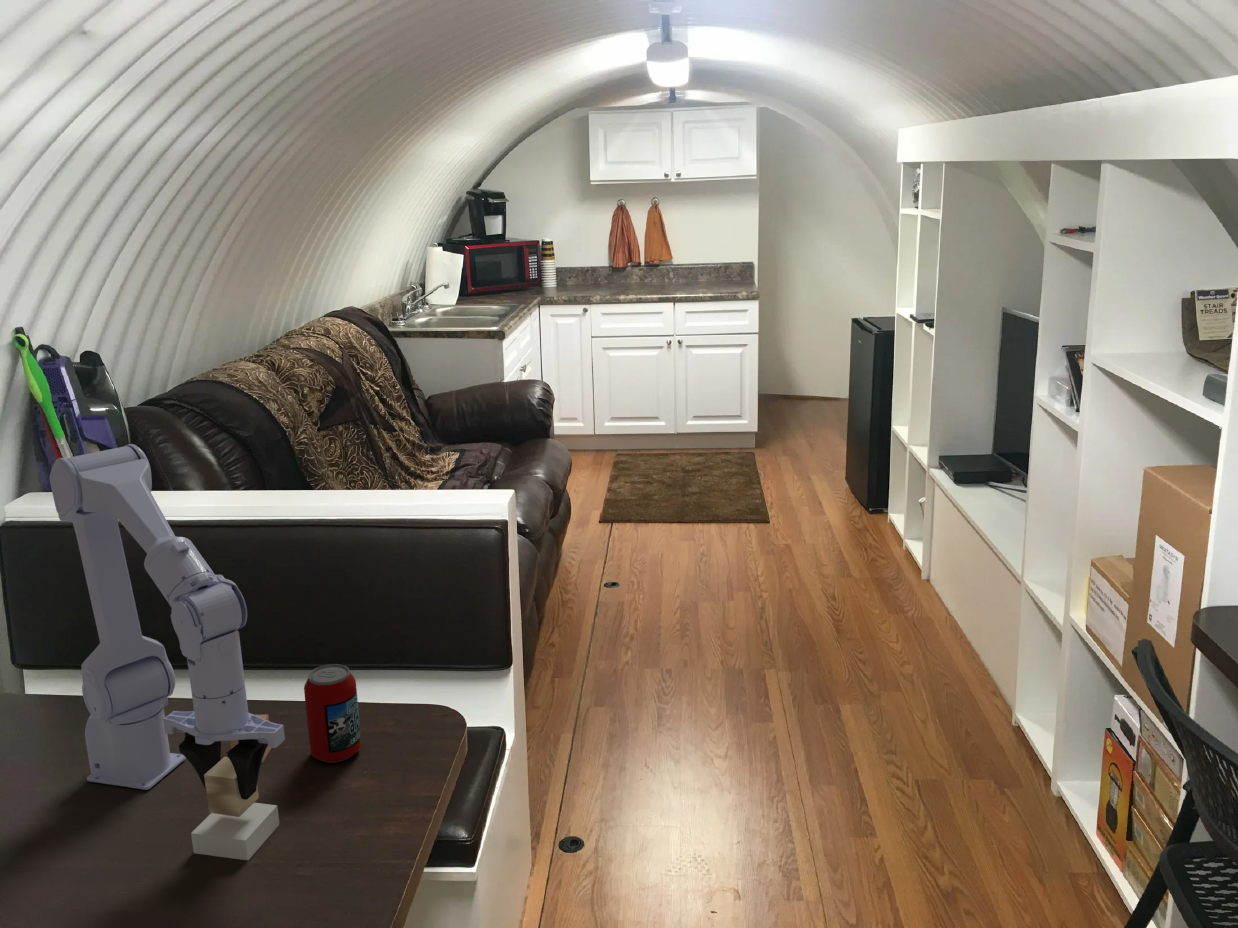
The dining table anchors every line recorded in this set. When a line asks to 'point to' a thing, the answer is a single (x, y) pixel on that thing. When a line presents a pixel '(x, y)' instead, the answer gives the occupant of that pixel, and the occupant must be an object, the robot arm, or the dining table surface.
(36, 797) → the dining table surface
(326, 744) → the beverage can
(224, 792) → the maple block
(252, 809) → the grey slab
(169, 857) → the dining table surface
